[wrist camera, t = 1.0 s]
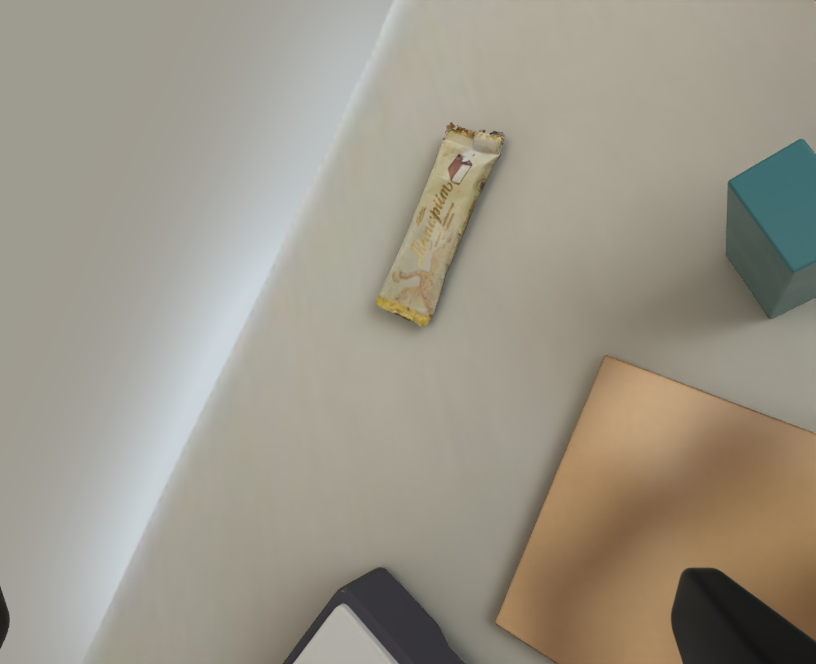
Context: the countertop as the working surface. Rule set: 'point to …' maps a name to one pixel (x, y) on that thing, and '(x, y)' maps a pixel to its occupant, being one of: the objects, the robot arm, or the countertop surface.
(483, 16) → the countertop surface
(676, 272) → the countertop surface
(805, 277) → the letter H
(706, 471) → the wooden board
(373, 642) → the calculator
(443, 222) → the snack bar
